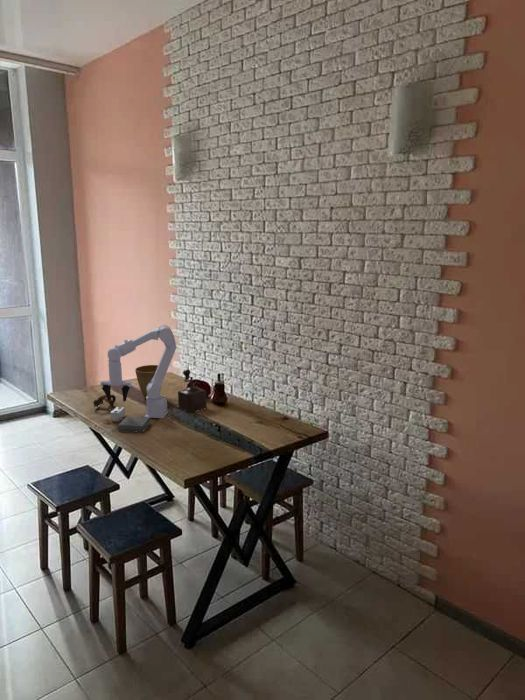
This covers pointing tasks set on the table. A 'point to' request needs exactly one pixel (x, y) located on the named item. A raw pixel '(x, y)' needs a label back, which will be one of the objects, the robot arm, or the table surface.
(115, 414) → the block
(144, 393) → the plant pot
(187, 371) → the manual coffee grinder
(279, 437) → the table surface
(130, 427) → the stand
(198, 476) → the table surface
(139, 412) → the table surface
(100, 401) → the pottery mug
